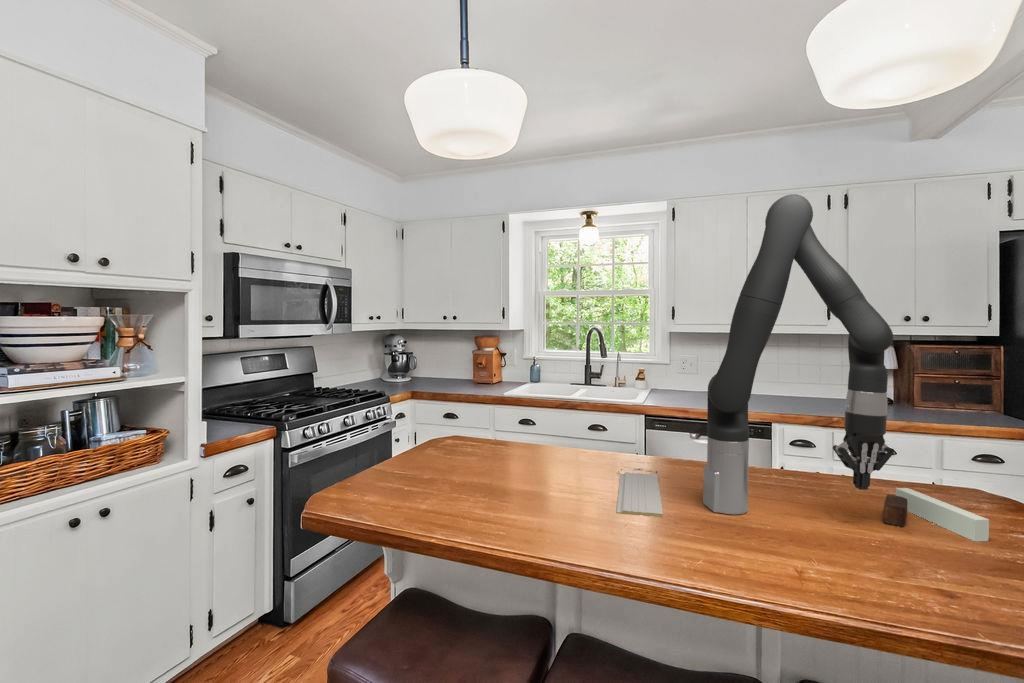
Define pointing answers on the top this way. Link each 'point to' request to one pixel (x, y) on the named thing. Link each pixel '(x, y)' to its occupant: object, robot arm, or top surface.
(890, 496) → the brick
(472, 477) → the top surface
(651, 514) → the baseboard molding
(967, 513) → the board
